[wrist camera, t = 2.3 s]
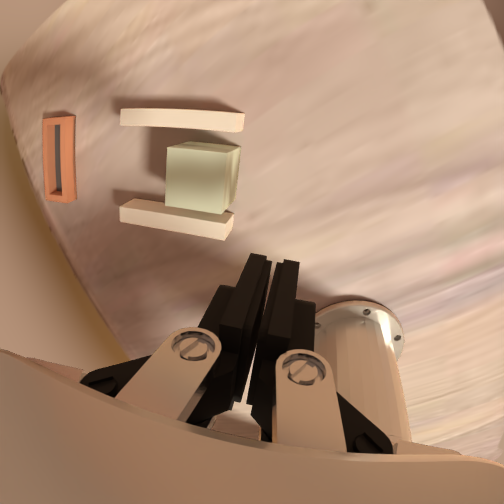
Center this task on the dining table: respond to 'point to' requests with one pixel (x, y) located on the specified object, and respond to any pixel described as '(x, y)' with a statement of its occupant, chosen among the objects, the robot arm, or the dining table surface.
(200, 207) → the sage block
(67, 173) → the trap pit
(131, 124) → the walled channel
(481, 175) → the dining table surface
